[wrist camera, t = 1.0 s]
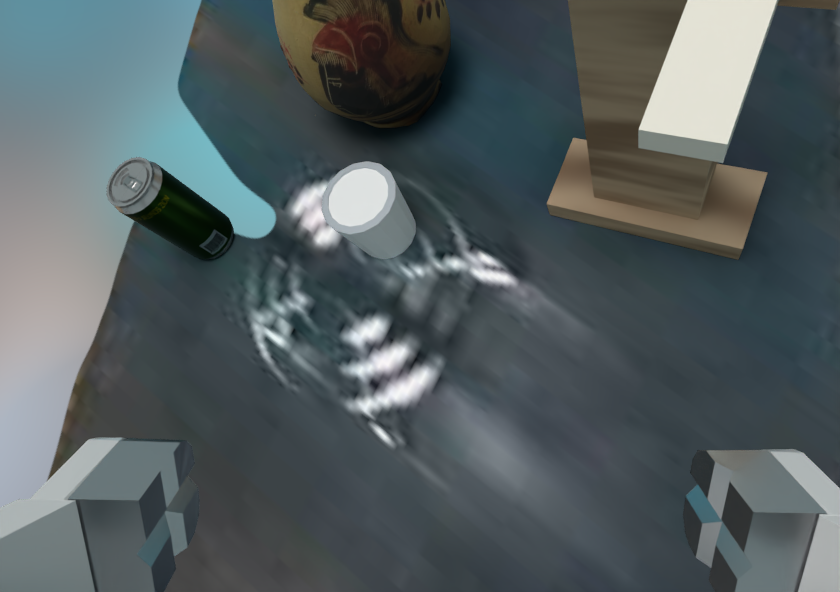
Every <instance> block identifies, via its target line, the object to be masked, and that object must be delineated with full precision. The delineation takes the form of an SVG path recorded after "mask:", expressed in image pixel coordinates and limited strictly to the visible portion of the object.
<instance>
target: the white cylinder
mask: <svg viewBox="0 0 840 592" xmlns="http://www.w3.org/2000/svg"><path fill="white" fill-rule="evenodd" d="M322 212H323V215H324V218H325V220H326V222H327V223H328V224H329V225H330V226H331V227H332V228H333V229H334V230H335V231H337V232H338V233H340V234H341V235H342V236H344V237H345V238H347V239H348V240H349V241H351V242H352V243H354V244H355V245H356V246H358V247H359V248H361V249H362V250H363V251H365V252H366V253H368V254H369V255H370V256H372V257H375V258H378V259H389V258H394V257H396V256H398V255H399V254H401V253H403V252H404V251H405V250H406V249H407V248H408V247H409V246H410V245H411V243H412V241H413V238H414V236H415V234H416V222H415V220H414V217H413V215H412V213H411V211H410V209H409V207H408V205H407V203H406V201H405V200H404V198H403V196H402V194H401V192H400V190H399V188H398V186H397V184H396V182H395V180H394V178H393V176H392V174H391V172H390V171H389V170H387V169H386V168H385V167H383V166H382V165H381V164H378V163H373V162H368V161H366V162H361V163H356V164H352V165H350V166H348V167H347V168H345V169H343V170H341V171H340V172H339V173H338V174H337V175H336V176H335V177H334V178H333V179H332V180H331V181H330V182H329V184H328V186H327V188H326V190H325V192H324V195H323V199H322Z"/></svg>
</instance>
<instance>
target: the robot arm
mask: <svg viewBox="0 0 840 592" xmlns="http://www.w3.org/2000/svg"><path fill="white" fill-rule="evenodd" d="M194 464H195V462H194V456H193V451H192V446H191V445H190V444H189V443H188V442H187V441H186V440H164V439H138V438H126V439H125V438H93V439H89V440H88V441H87V442H86V443H85V444H84V445H83V446H82V447H81V448H80V449H79V450H78V451H77V452H76V453H75V454H74V455H73V456H72V457H71V458H70V459H69V460H68V461H67V462H66V463H65V464H64V465H63V466H62V467H61V468H60V469H59V470H58V471H57V472H56V473H55V474H54V475H53V476H52V477H51V478H50V479H49V480H48V481H47V482H46V483H45V484H44V485H43V486H42V487H41V488H40V489H39V490H38V491H37V492H36V493H35V494H34V495H33V496H32V497H31V498H30V499H18V500H16V501H14V502H12V503H10V504H8V505H5V506H3V507H1V508H0V592H164V590H165V588H166V587H167V585H168V583H169V581H170V579H171V577H172V575H173V574H174V572H175V570H176V567H175V560H174V556H175V555H177V554H178V553H180V552H181V551H183V550H184V549H186V548H187V547H188V545H189V543H190V541H191V539H192V537H193V535H194V533H195V529H196V525H197V521H198V517H199V502H200V500H199V491H198V487H197V485H196V484H195V483H194V482H193V481H192V480H191V479H190V478H189V477H188V476H187V475H188V474H189V472H190V471H191V469H192V467H193V466H194ZM690 473H691V475H692V476H693V478H694V480H695V481H696V483H697V484H698V485H697V486H696V487H694V488H693V489H692V490H691V491H690V492H689V493H688V494H687V495H686V497H685V504H684V511H683V518H684V528H685V534H686V537H687V540H688V543H689V546H690V547H691V549H692V551H693V553H694V555H695V557H696V558H697V559H699V560H700V561H702V562H703V563H705V564H706V565H707V566H709V567H710V568H711V571H710V576H709V582H710V583H711V585H712V587H713V589H714V590H715V592H840V488H839V487H838V486H837V485H836V484H835V483H833V482H832V481H831V480H830V479H829V478H828V477H827V476H826V475H825V474H824V473H823V472H822V471H821V470H820V469H819V468H818V467H817V466H816V465H815V464H814V463H813V462H812V461H811V460H810V459H809V458H808V457H807V456H806V455H805V454H804V453H802V452H800V451H797V450H795V449H773V450H697V452H696V454H695V456H694V458H693V460H692V465H691V470H690Z"/></svg>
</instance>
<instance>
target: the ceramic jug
mask: <svg viewBox="0 0 840 592" xmlns="http://www.w3.org/2000/svg"><path fill="white" fill-rule="evenodd" d="M273 8H274V15H275V24H276V28H277V33H278V37H279V40H280V43H281V45H280V46H281V49H282V51H283V53H284V55H285V57H286V59H287V61H288V64H289V68H290V69H291V70H292V72H293V73H294V75H295V77H296V79H297V81H298V82H299V83H300V85H301V86H302V88H303V89H304V90H305V91H306V92H307V93H308V94H309V95H310V96H311V97H312V98H313V99H314V100H315V101H316V102H317V103H318V104H319V105H320V106H321V107H323V108H324V109H326V110H328V111H330V112H333V113H335V114H338V115H340V116H343V117H346V118H349V119H353V120H357V121H363V122H365V123H367V124H369V125H371V126H374V127H378V128H396V127H401V126H409V125H411V124H413V123H415V122H417V121H418V120H419V118H420V117H421V116H422V115H423V114H424V113H425V112H426V111H427V109H428V108H429V107H430V106H431V105H432V104H433V102H434V100H435V98H436V96H437V95H438V92H439V90H440V87H441V85H442V83H441V81H440V79H439V78H440V76H441V75H442V73H443V71H444V68H445V65H446V63H447V60H448V55H449V51H450V46H451V41H450V18H449V14H448V10H447V7H446V3H445V0H273ZM315 116H316V114H315Z"/></svg>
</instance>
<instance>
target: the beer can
mask: <svg viewBox="0 0 840 592" xmlns="http://www.w3.org/2000/svg"><path fill="white" fill-rule="evenodd" d="M107 197H108V200H109V201H110V202H111V203H112V204H113V205H114V206H115V207H116V208H117V210H119V212H121V213H122V214H124V215H126V216H128V217H129V218H131V219H133V220H134V221H136V222H137V223H139V224H141V225H143V226H144V227H146V228H148V229H149V230H151V231H153V232H154V233H156V234H158V235H159V236H161V237H163V238H164V239H166V240H168V241H169V242H171V243H173V244H174V245H176V246H178V247H179V248H181V249H183V250H184V251H186V252H188V253H189V254H191V255H193V256H194V257H197V258H199V259H214V258H217V257H219V256H220V255H222V254H223V253H224V252H225V251H226V250H227V249H228V248H229V246H230V244H231V242H232V240H233V236H234V231H233V227H232V224H231V222H230V220H229V218H228V217H227V216H226V215H225V214H223V213H222V212H221V211H219V210H218V209H217V208H215V207H214V206H213V205H211V204H210V203H209V202H207V201H206V200H204V199H203V198H202V197H200V196H199V195H198V194H196V193H195V192H194V191H192V190H191V189H190V188H188V187H187V186H186V185H184V184H183V183H182V182H180V181H179V180H178V179H176V178H175V177H174V176H172V175H171V174H169V173H168V172H167V171H165V170H164V169H163V168H161V167H160V166H159V165H157V164H156V163H154V162H151V161H148V160H146V159H144V158H141V157H136V158H131V159H129V160H127V161H125V162H124V163H122V164H121V165H119V166H118V168H117V169H116V170H115V171H114V172H113V174H112V175H111V177H110V179H109V182H108V185H107Z"/></svg>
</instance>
